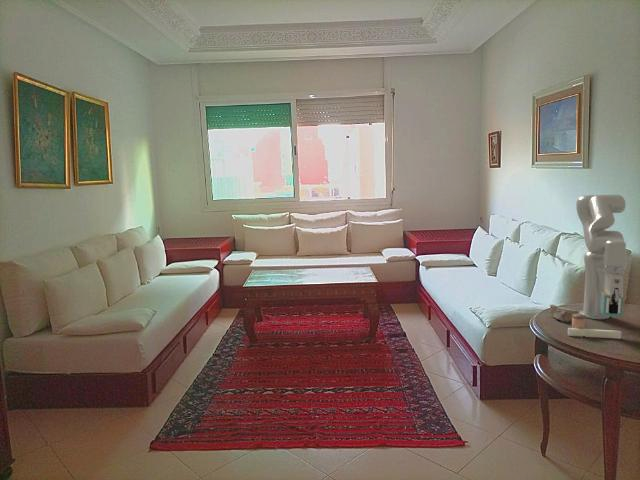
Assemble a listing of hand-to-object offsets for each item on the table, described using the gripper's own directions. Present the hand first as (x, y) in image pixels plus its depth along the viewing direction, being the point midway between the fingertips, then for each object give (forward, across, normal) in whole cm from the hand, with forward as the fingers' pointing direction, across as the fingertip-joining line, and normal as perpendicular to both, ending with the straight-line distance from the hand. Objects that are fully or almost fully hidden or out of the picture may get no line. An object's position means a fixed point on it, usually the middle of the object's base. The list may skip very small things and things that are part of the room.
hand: (611, 310), depth 209 cm
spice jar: (+11, 0, +12) cm, 16 cm away
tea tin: (+2, 0, 0) cm, 2 cm away
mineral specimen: (+11, +17, +15) cm, 25 cm away
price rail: (+11, -4, +7) cm, 13 cm away
